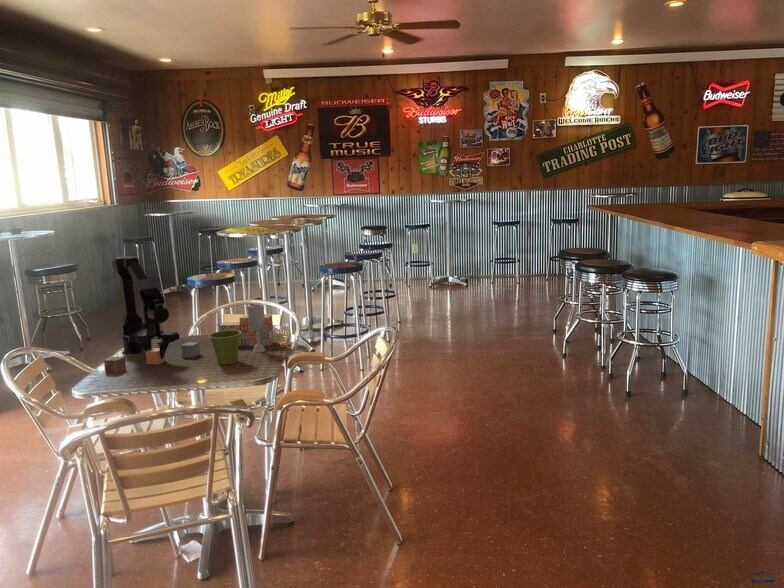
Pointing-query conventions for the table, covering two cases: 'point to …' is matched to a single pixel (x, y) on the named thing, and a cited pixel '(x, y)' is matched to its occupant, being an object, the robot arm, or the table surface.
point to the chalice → (256, 323)
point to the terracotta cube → (154, 356)
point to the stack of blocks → (251, 331)
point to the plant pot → (226, 346)
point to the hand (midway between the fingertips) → (156, 358)
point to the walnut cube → (115, 364)
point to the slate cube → (190, 349)
